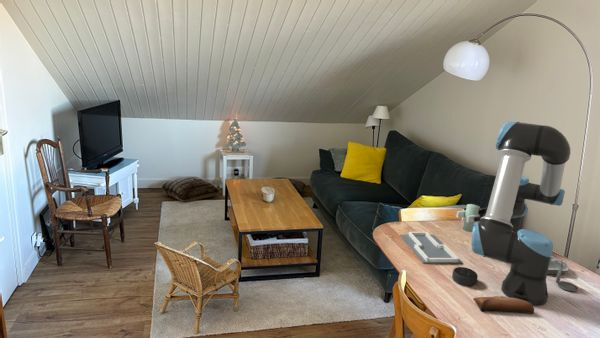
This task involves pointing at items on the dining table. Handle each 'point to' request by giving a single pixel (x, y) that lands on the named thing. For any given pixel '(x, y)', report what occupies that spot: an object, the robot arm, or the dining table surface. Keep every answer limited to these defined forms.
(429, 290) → the dining table surface
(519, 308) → the sunglasses case
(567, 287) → the grey disc stand
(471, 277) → the smart speaker
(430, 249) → the keyhole track
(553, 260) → the brain slice
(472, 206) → the sage post
